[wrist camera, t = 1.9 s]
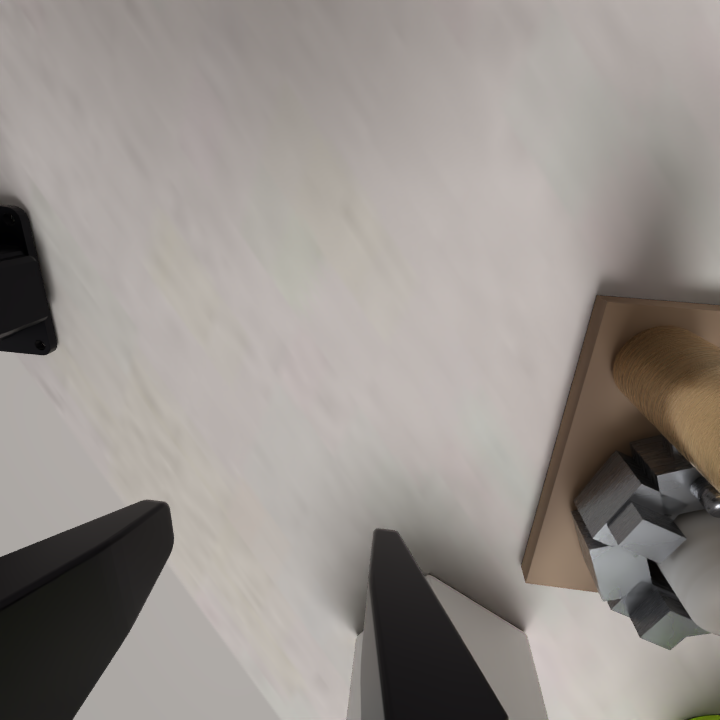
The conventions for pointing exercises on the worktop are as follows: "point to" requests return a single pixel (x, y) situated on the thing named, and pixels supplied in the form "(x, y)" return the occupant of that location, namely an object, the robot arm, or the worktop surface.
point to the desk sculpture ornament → (654, 479)
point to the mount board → (614, 432)
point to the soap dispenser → (707, 717)
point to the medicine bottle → (480, 656)
